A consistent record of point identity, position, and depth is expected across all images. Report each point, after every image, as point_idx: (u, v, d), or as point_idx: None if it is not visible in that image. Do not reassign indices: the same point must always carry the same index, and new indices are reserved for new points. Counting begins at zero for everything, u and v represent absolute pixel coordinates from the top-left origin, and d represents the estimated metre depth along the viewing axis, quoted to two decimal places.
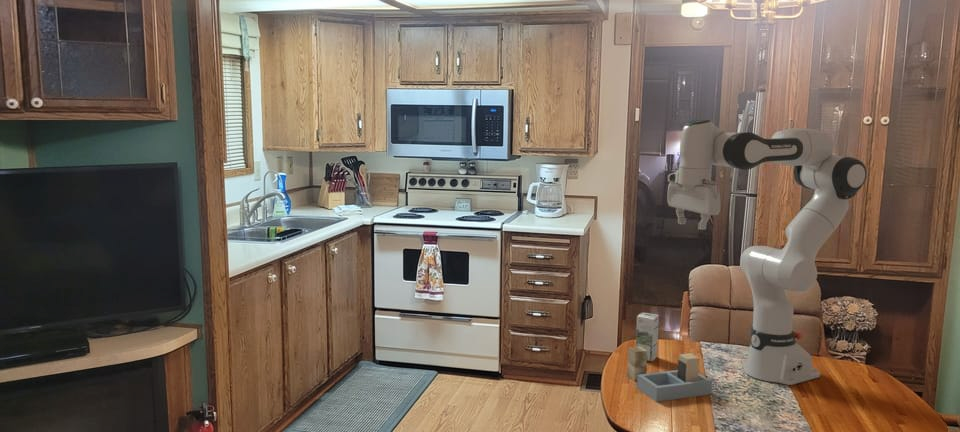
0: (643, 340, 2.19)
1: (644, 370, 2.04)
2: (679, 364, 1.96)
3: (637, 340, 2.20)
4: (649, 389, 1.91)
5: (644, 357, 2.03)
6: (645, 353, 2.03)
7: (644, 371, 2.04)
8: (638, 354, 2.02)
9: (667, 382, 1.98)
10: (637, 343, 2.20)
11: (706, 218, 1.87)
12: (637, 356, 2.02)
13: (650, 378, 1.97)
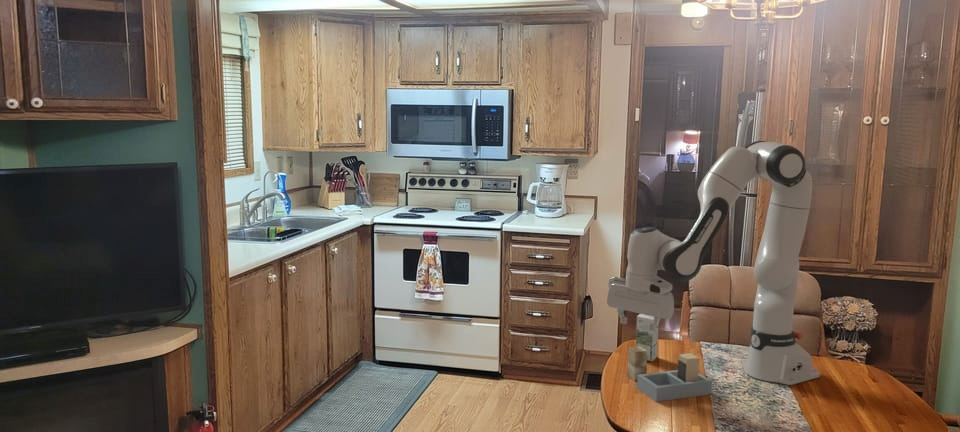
0: (643, 340, 2.19)
1: (644, 370, 2.04)
2: (679, 364, 1.96)
3: (637, 340, 2.20)
4: (649, 389, 1.91)
5: (644, 357, 2.03)
6: (645, 353, 2.03)
7: (644, 371, 2.04)
8: (638, 354, 2.02)
9: (667, 382, 1.98)
10: (637, 343, 2.20)
11: None
12: (637, 356, 2.02)
13: (650, 378, 1.97)
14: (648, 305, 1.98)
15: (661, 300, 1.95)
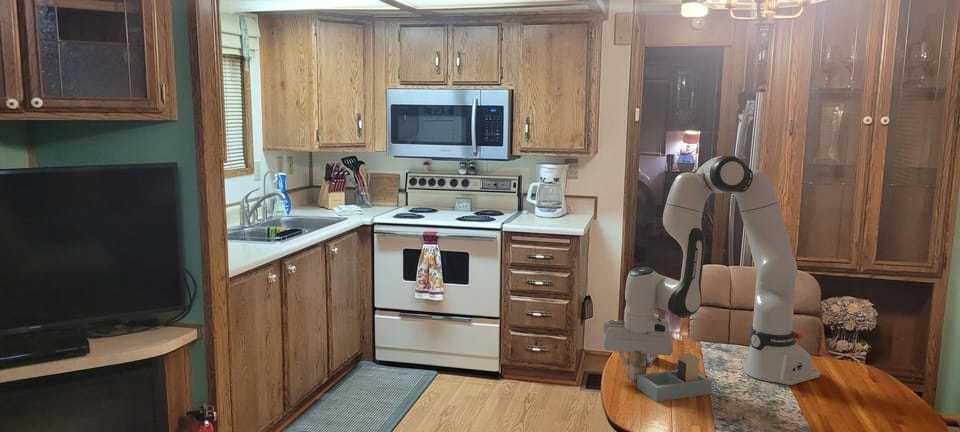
0: None
1: (644, 370, 2.04)
2: (679, 364, 1.96)
3: None
4: (649, 389, 1.91)
5: (644, 357, 2.03)
6: None
7: (644, 371, 2.04)
8: (638, 354, 2.02)
9: (667, 382, 1.98)
10: None
11: None
12: (637, 356, 2.02)
13: (650, 378, 1.97)
14: (650, 344, 2.01)
15: (665, 338, 2.00)
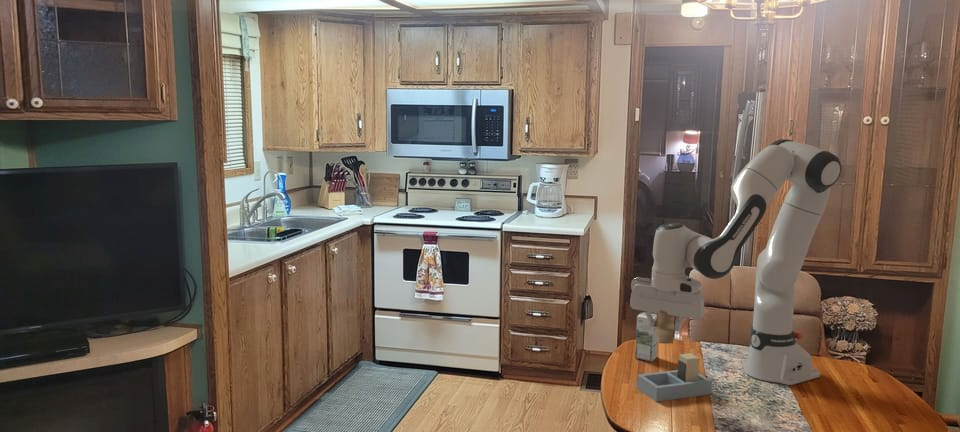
0: (643, 340, 2.19)
1: (671, 333, 1.90)
2: (679, 364, 1.96)
3: (637, 340, 2.20)
4: (649, 389, 1.91)
5: (671, 319, 1.89)
6: (672, 315, 1.89)
7: (671, 334, 1.90)
8: (663, 314, 1.89)
9: (667, 382, 1.98)
10: (637, 343, 2.20)
11: None
12: (663, 317, 1.89)
13: (650, 378, 1.97)
14: (677, 305, 1.87)
15: (692, 300, 1.85)
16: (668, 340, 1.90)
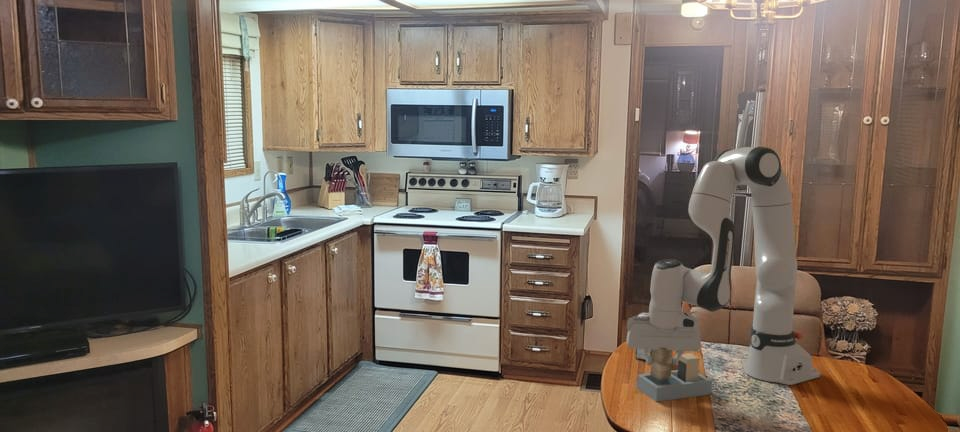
0: None
1: (669, 368, 1.93)
2: (679, 364, 1.96)
3: None
4: (649, 389, 1.91)
5: (670, 354, 1.92)
6: (671, 350, 1.92)
7: (669, 369, 1.93)
8: (664, 351, 1.91)
9: (667, 382, 1.98)
10: None
11: None
12: (664, 353, 1.91)
13: (650, 378, 1.97)
14: (677, 340, 1.90)
15: (692, 333, 1.90)
16: (667, 374, 1.93)
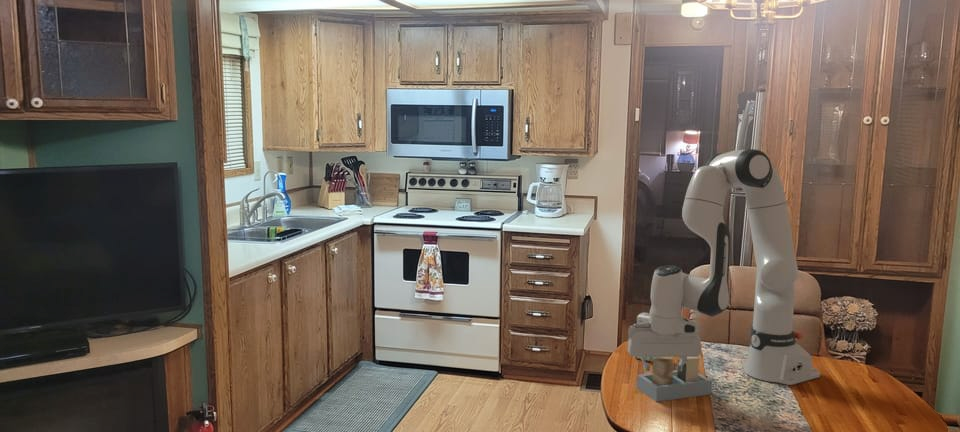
0: None
1: (671, 381, 1.93)
2: None
3: None
4: (649, 389, 1.91)
5: (671, 367, 1.92)
6: (672, 363, 1.92)
7: (671, 382, 1.93)
8: (666, 364, 1.91)
9: None
10: None
11: (641, 359, 1.93)
12: (665, 367, 1.91)
13: (650, 378, 1.97)
14: (678, 346, 1.91)
15: (693, 339, 1.90)
16: None
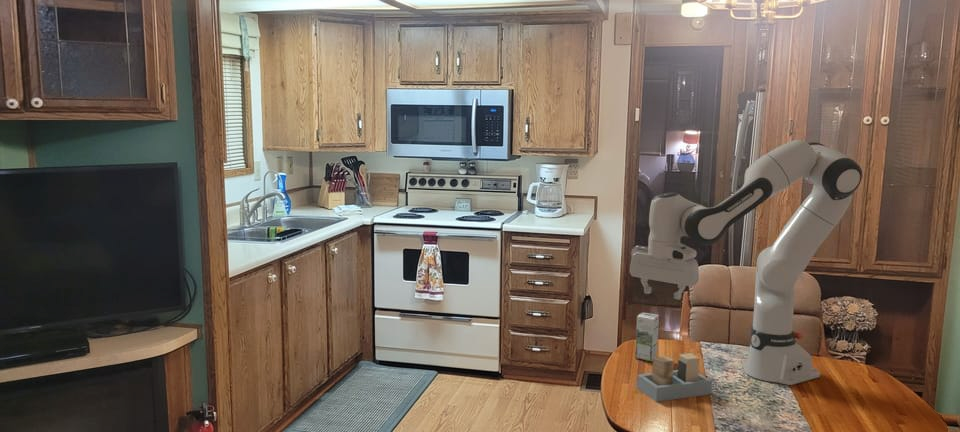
0: (643, 340, 2.19)
1: (671, 381, 1.93)
2: (679, 364, 1.96)
3: (637, 340, 2.20)
4: (649, 389, 1.91)
5: (671, 367, 1.92)
6: (672, 363, 1.92)
7: (671, 382, 1.93)
8: (666, 364, 1.91)
9: None
10: (637, 343, 2.20)
11: None
12: (665, 367, 1.91)
13: (650, 378, 1.97)
14: (671, 273, 1.93)
15: (685, 267, 1.89)
16: None
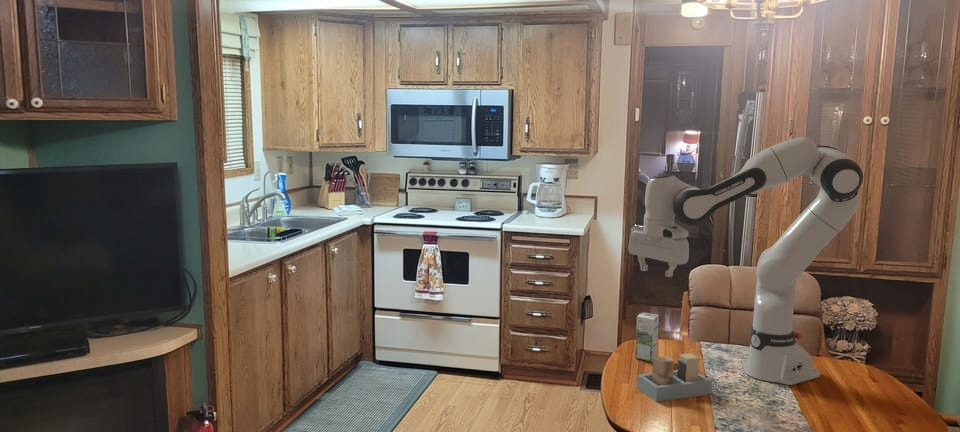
0: (643, 340, 2.19)
1: (671, 381, 1.93)
2: (679, 364, 1.96)
3: (637, 340, 2.20)
4: (649, 389, 1.91)
5: (671, 367, 1.92)
6: (672, 363, 1.92)
7: (671, 382, 1.93)
8: (666, 364, 1.91)
9: None
10: (637, 343, 2.20)
11: None
12: (665, 367, 1.91)
13: (650, 378, 1.97)
14: (663, 251, 2.01)
15: (674, 245, 1.97)
16: None
